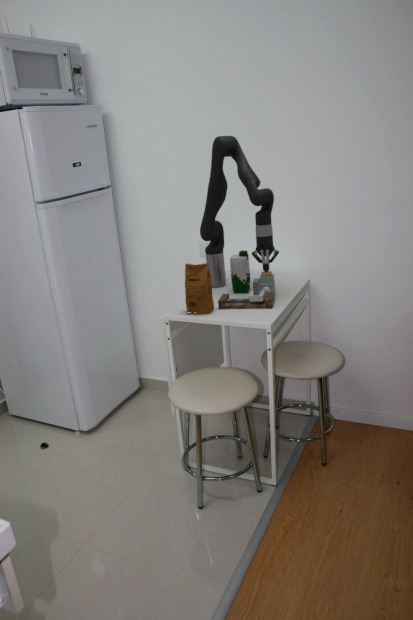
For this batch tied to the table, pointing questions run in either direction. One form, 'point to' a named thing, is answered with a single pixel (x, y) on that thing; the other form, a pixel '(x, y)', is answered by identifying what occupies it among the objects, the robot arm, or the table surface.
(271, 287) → the cabinet
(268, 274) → the button
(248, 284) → the milk carton
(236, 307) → the rail bed
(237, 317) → the table surface
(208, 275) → the coffee package
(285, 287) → the table surface
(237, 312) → the table surface
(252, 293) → the carriage
